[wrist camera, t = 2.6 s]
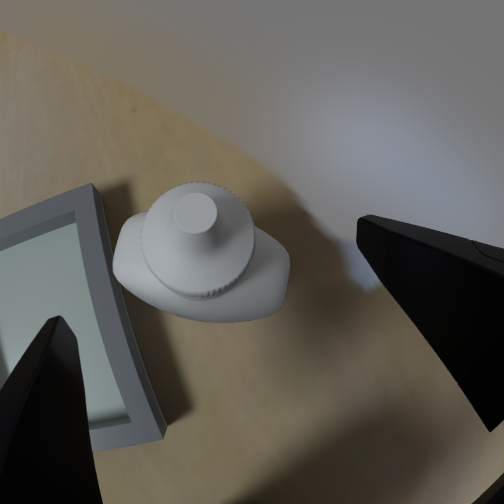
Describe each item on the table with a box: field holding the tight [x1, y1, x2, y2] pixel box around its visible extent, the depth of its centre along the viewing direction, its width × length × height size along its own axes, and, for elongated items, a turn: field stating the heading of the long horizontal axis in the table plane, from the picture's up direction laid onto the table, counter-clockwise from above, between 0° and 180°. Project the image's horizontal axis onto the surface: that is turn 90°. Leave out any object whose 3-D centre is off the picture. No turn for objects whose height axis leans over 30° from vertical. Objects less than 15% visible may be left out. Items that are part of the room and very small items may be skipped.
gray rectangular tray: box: [0, 183, 168, 452], centre depth 14 cm, size 13×11×2 cm
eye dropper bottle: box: [113, 182, 290, 323], centre depth 11 cm, size 4×6×12 cm
